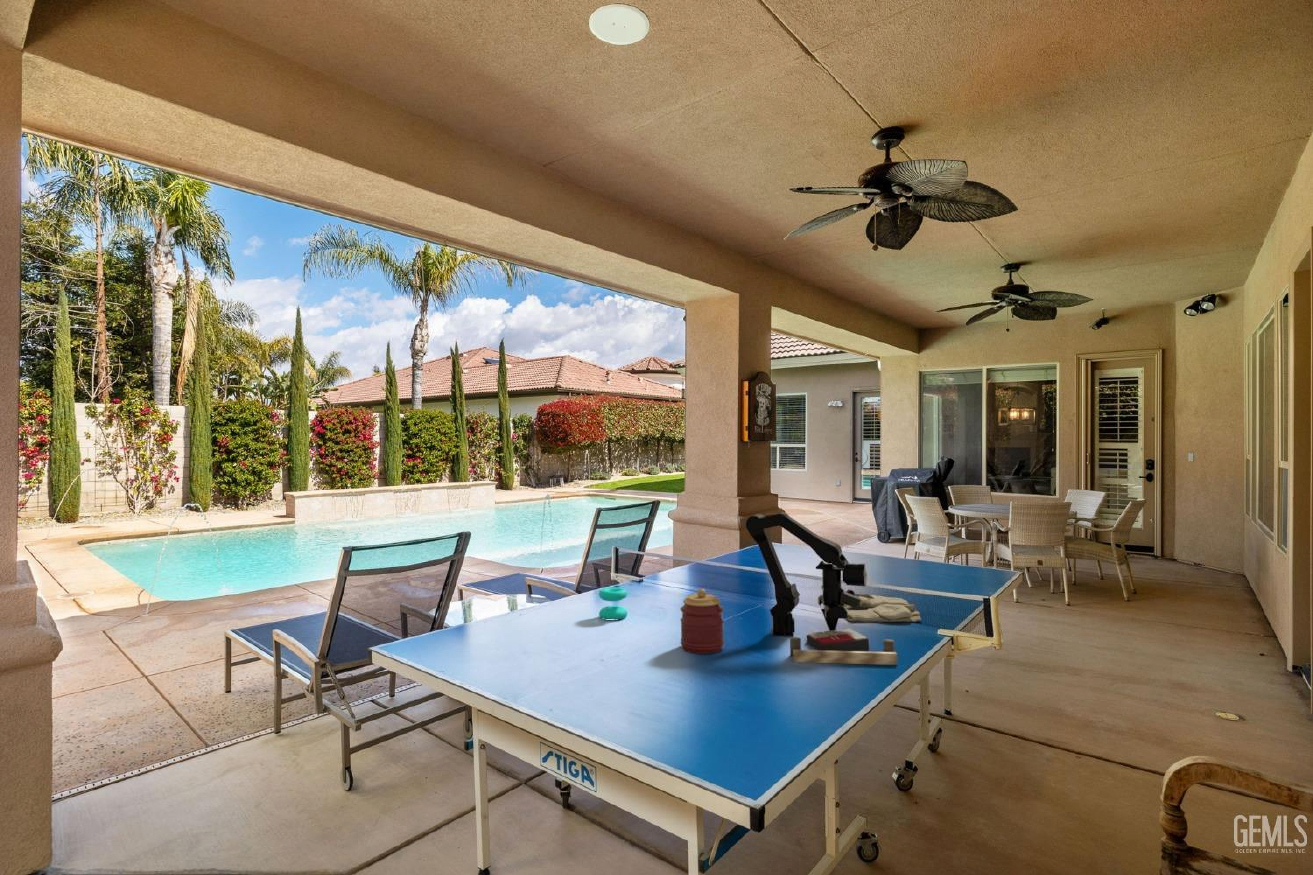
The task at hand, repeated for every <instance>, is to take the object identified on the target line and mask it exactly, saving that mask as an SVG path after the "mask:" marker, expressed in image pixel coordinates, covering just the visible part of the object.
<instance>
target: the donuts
mask: <svg viewBox="0 0 1313 875" xmlns="http://www.w3.org/2000/svg"><path fill="white" fill-rule="evenodd" d="M598 592H599V593H598V596H599V598H600V599H602V600H603V601H605V602H620V601H623V600H624V599H625V598H627V595H628V591H627V590H626V589H625V588H624V587H618V586H617V587H614V586H613V587H605V588H601V589H600V590H599V591H598ZM598 616H599V617H600V619H602V618H604V619H621V620H623V619H622V618H624V619H625V618H626V617H627V616H628V611H627V609H626V608H625V607H623V606H620V605H607V606H604V607H602V608H601V609H600V610H599V612H598ZM604 619H603V620H604Z"/></svg>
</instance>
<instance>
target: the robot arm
mask: <svg viewBox="0 0 1313 875" xmlns="http://www.w3.org/2000/svg"><path fill="white" fill-rule="evenodd" d="M775 527H781V528H783V529H784V530H786V531H787V532H789V534H792V535H793V536H794V537H795V538H797V539H798V540H800V541H802V542H803V543H805V544H806V545H807V546H809V547H810V548H811V549H812V551H814V553H815V554H816V555H817V556H818V557H819V558H820V559H821V560H820V562H819V563H818V564H817V565H816V566H815V569H816V570H821V571H822V574H821V575H822V580H821V581H822V582H821V583H822V584H821V590H822V594H820V595H819V596H818V597H817V604H818V606H822V605H823V608H821V609H820V610H821V613H822V615H823V618H824V621H825V623H826V625H827V628H828V631H830V630H837V625H838V622H839V619H840V620H841V619H843V620H844V619H846V618H848V612H847V611H848V610H846V609H845V608H844V607H843V606H844V604H846V605H849V606H851V607H852V608H853V609H854V610H859V608H858V607H859V604H860V601H861V599H860V598H859V597H858V596H855V594H856V593H855V591H854V590H852V589H850V588H849V589H847V590H845V591H844V589H843V588H842V582H843V583H844V584H845V585H846V586H853V587H866V586H867V580H868V578H867V577H868V574H867V570H866V564H865V563H849V561H848V559H847V557H846V556H845V555H844V554H843V549H842V547H841V545H839V543H837V542H836V541H835V542H834V541H832V540H830V539H828V538H825V537H822V536H819V535H818V534H817V533H815V532H813V531H812V530H810V529H809V528H808V527H806V526H805V525H804V524H801V523H800V522H799V521H797V520H796V519H794V518H793V517H791V516H790V515H789V514H788V513H786V512H779V513H775V514H769V515H763V514H762V513H757V514H754V515H751V516H749V517H748V518H747V519H746V521H745V529H746V530H747V531H748V533H749V535H750V536H751V538H752V539H753V541H754V542H755V543H756V544H757V545H758V549H759V550H760V553H761V555H762V558H763V561H764V562H765V566H766V568H767V570H768V572H769V576H770V578H771V580H772V582H773V586H774V596H775V600H776V604H775V605H773V606H772V607H771V608H770V609H769V613H770V615H771V622H772V623H771V626H772V628H771V634H772V636H779V637H780V636H781V637H784V636H785V637H786V636H789V637H795V636H794V633H795V629H796V628H795V618H794V617H793V613H792V612H793V611H794V609H795V608H796V607H797V606H798V605H799V603H800V595H801V594H800V592H799V590H798V589H797V585H796V582H795V583H792V584H791V583H790V581H789V580H788V579H787V576H786V574H785V571H784V569H783V567H782V563H781V562H780V560H779V557H778V554H777V552H776V549H775V547H774V544H773V543H772V540H771V529H770V528H775Z"/></svg>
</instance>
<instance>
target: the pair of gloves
mask: <svg viewBox="0 0 1313 875" xmlns="http://www.w3.org/2000/svg"><path fill="white" fill-rule="evenodd" d="M854 594H855V596H858V597H859V598H860V599H861V601H860V604H859V607H858V609H854V610H853V609H852V608H853V607H851V606H849V605H846V604H844V606H843V607H844V608H845V609H847V610H846V611H847V612H848V618H846V619H847V621H850V622H853V623H854V622H858V623H859V622H862V623H865V622H866V623H869V622H872V623H879V622H881V623H883V622H885V623H896V622H899V623H902V622H903V623H905V622H906V623H909V622H912V623H916V622H921V621H922V618H921V616H920V615H921V614H920V612H919V610H916V606H915V605H914V604H913V603H912V604H909V603H908V601H907V600H905V599H904V598H900V597H890V596H889V597H888V596H883V595H876V594H862V593H860V594H859V593H854ZM861 608H865V609H861ZM869 608H872V609H869ZM850 609H852V610H850ZM860 609H861V610H860Z"/></svg>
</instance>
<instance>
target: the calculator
mask: <svg viewBox="0 0 1313 875" xmlns="http://www.w3.org/2000/svg"><path fill="white" fill-rule="evenodd" d="M806 644H808V645H809V646H811V647H813V648H814V650H829V651H859V650H861V651H870V640H869V638H868V637H866V636H864V635H863V634H861V633H859V632H857V631H855V630H853V629H852V628H844V629H843V628H842V629H836V630H830V631H829V630H824V631H816V632H810V633H808V634H806Z"/></svg>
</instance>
